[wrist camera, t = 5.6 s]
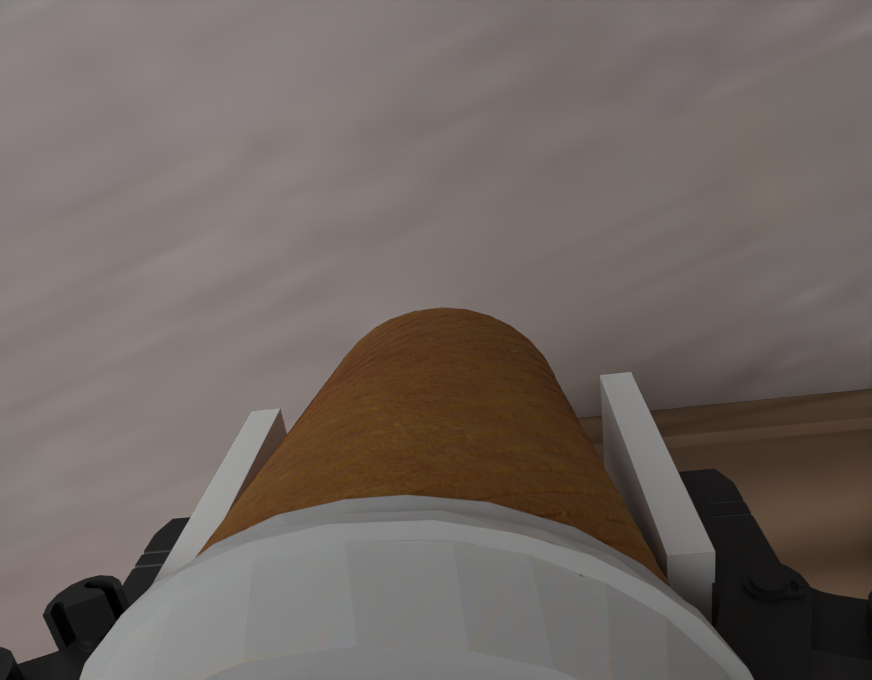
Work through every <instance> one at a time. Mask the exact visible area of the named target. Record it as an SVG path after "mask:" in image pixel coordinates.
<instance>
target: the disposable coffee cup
mask: <svg viewBox="0 0 872 680" xmlns="http://www.w3.org/2000/svg"><path fill="white" fill-rule="evenodd" d="M655 560H656V558H655V557H654V555H653V554H652V552H651V550H650V549H649V547H648V545H647V544H646V542H645V541H644V539H643V535H642V533H641V532H640V530H639V528H638V527H637V525H636V523H635V522H634V520H633V519H632V517H631V515H630V513H629V511H628V509H627V507H626V505H625V503H624V501H623V499H622V497H621V495H620V493H619V492H618V490H617V488H616V487H615V485H614V483H613V482H612V480H611V478H610V476H609V474H608V473H607V471H606V469H605V468H604V466H603V463H602V461H601V459H600V458H599V456H598V454H597V453H596V451H595V449H594V448H593V444H592V442H591V441H590V439H589V438H588V436H587V434H586V432H585V430H584V429H583V427H582V425H581V424H580V422H579V419H578V418H577V416H576V414H575V413H574V411H573V409H572V407H571V405H570V403H569V402H568V400H567V398H566V396H565V395H564V393H563V391H562V389H561V387H560V385H559V384H558V382H557V380H556V378H555V375H554V373H553V371H552V369H551V368H550V366H549V364H548V362H547V361H546V359H545V357H544V356H543V355H542V353H541V352H540V351H539V350H538V349H537V348H536V347H535V346H534V345H533V343H532V342H531V341H530V340H529V339H528V338H526V337H525V336H524V335H522V334H521V333H520V332H518V331H517V330H516V329H514V328H513V327H511V326H510V325H508V324H506V323H504V322H502V321H499V320H497V319H495V318H493V317H491V316H489V315H485V314H481V313H478V312H474V311H470V310H466V309H454V308H435V309H428V310H420V311H413V312H410V313H407V314H405V315H402V316H399V317H396V318H393V319H390V320H388V321H386V322H385V323H383V324H381V325H379V326H377V327H376V328H374V329H373V330H372V331H371V332H369V333H368V334H367V335H366V336H365V337H363V338H362V339H361V340H360V341H359V342H358V343H357V344H356V345H355V346H354V347H353V348H352V350H351V351H350V352H349V353H348V354H347V355H346V356H345V358H344V359H343V360H342V362H341V363H340V364H339V366H338V367H337V368H336V370H335V371H334V373H333V374H332V375H331V377H330V378H329V379H328V381H327V382H326V383H325V385H324V386H323V387H322V388H321V390H320V391H319V392H318V394H317V395H316V396H315V398H314V399H313V400H312V402H311V403H310V405H309V406H308V407H307V409H306V410H305V411H304V413H303V414H302V415H301V416H300V418H299V419H298V420H297V422H296V423H295V425H294V426H293V427H292V429H291V430H290V431H289V433H288V434H287V435H286V437H285V438H284V439H283V441H282V442H281V443H280V444H279V446H278V447H277V449H276V450H275V451H274V453H273V454H272V456H271V457H270V458H269V460H268V461H267V462H266V463H265V465H264V466H263V467H262V469H261V470H260V471H259V473H258V474H257V475H256V477H255V478H254V479H253V481H252V482H251V484H250V485H249V486H248V488H247V489H246V490H245V492H244V493H243V494H242V496H241V497H240V498H239V500H238V501H237V502H236V504H235V505H234V506H233V508H232V509H231V510H230V512H229V513H228V514H227V516H226V517H225V518H224V520H223V521H222V522H221V524H220V525H219V526H218V528H217V529H216V530H215V531H214V533H213V534H212V535H211V537H210V538H209V540H208V541H207V542H206V544H205V545H204V546H203V548H202V549H201V550H200V552H199V553H198V555H197V556H196V557H195V559H194V560H192V561H190V562H189V563H187V564H185V565H184V566H182V567H180V568H179V569H177V570H175V571H174V572H172V573H170V574H169V575H167V576H166V577H164V578H162V579H161V580H159V581H157V582H156V583H155V584H154V585H152V586H151V587H150V588H149V589H148V590H147V591H146V592H145V593H144V594H143V595H142V596H141V597H140V598H139V599H138V600H137V601H135V602H134V603H133V604H132V605H131V606H130V607H129V608H128V609H127V610H126V611H125V612H124V613H123V614H122V615H121V616H120V618H119V619H118V620H117V622H116V623H115V624H114V626H113V627H112V628H111V630H110V631H109V632H108V634H107V635H106V636H105V638H104V639H103V640H102V641H101V643H100V644H99V645H98V647H97V648H96V649H95V651H94V652H93V653H92V655H91V656H90V657H89V659H88V660H87V661H86V663H85V665H84V668H83V670H82V673H81V676H80V679H79V680H754V678H753V677H752V675H751V673H750V671H749V669H748V668H747V666H746V665H745V664H744V663H743V662H742V661H741V659H740V658H739V657H738V656H737V655H736V653H735V652H734V651H733V650H732V649H731V648H730V646H729V645H728V644H727V643H726V642H725V641H724V639H723V638H722V637H721V636H720V635H719V634H718V632H717V631H716V630H715V629H714V628H713V626H712V625H711V624H710V623H709V622H708V621H707V619H706V618H705V617H704V616H703V615H702V614H701V612H700V611H699V610H698V609H697V608H695V607H694V606H692V605H691V604H689V603H687V602H686V601H684V600H683V599H682V597H681V596H679V595H678V594H677V593H676V592H675V591H673V590H672V589H671V588H670V584H669V582H668V581H667V579H666V577H665V576H664V574H663V573H662V571H661V569H660V568H659V566H658V564H657V563H656V561H655Z"/></svg>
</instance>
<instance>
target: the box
mask: <svg viewBox="0 0 872 680" xmlns="http://www.w3.org/2000/svg"><path fill="white" fill-rule="evenodd" d="M649 412H650V414H651V416H652V418H653V420H654V422H655V424H656V426H657V429H658V431H659V433H660V435H661V437H662V439H663V441H664V443H665V446H666V448H667V450H668V452H669V454H670V456H671V458H672V460H673V463H674V465H675V467H676V469H677V471H678V472H682V471H693V470H704V469H716V470H718V471H719V472H720V473H722V474H723V475H724V476H726V477H727V478H729V479H730V480H731V481H733V482H734V484H735V486H736V487H737V489H738V491H739V492H740V494H741V496H742V498H743V501H744V502H745V503H746V504H747V506H748V508H749V510H750V511H751V515H753V516H754V518H755V520H756V522H757V523H758V525H759V527H760V528H761V530H762V532H763V534H764V535H765V537H766V539H767V540H768V542H769V544H770V546H771V547H772V549H773V551H774V552H775V554H776V556H777V558H778V559H779V561H780V563H781V564H784V565H786V566H788V567H790V568H791V569H793V570H795V571H796V572H798V573H800V574H801V575H802V577H803V578H804V579H805V580H806V581H807V582H808V583H809V585H810V587H812V588H814V589H817V590H819V591H822V592H826V593H831V594H835V595H841V596H847V597H854V598H860V599H867V600H868V596H869V594H870V592H871V591H872V389H867V390H857V391H847V392H837V393H827V394H817V395H807V396H797V397H787V398H777V399H767V400H757V401H747V402H737V403H727V404H717V405H707V406H697V407H687V408H677V409H667V410H657V411H649ZM578 419H579V422H580V424H581V425H582V427H583V429H584V430H585V432H586V434H587V436H588V438H589V439H590V441H591V442H592V444H593V448H594V449H595V451H596V453H597V454H598V456H599V458H600V459H601V461H602V463H603V466H604V468H605V463H604V445H603V427H602V416H597V417H587V418H578Z"/></svg>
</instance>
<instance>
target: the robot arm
mask: <svg viewBox="0 0 872 680" xmlns="http://www.w3.org/2000/svg"><path fill="white" fill-rule="evenodd" d="M600 391H601V409H602V427H603V445H604V463H605V469H606V471H607V473H608V474H609V476H610V478H611V480H612V482H613V483H614V485H615V487H616V488H617V490H618V492H619V493H620V495H621V497H622V499H623V501H624V503H625V505H626V507H627V509H628V511H629V513H630V515H631V517H632V519H633V520H634V522H635V523H636V525H637V527H638V528H639V530H640V532H641V533H642V535H643V539H644V541H645V542H646V544H647V545H648V547H649V549H650V550H651V552H652V554H653V555H654V557H655V558H656V560H655V561H656V563H657V564H658V566H659V568H660V569H661V571H662V573H663V574H664V576H665V577H666V579H667V581H668V582H669V584H670V588H671V589H672V590H673V591H675V592H676V593H677V594H678V595H679V596H681V597H682V599H683V600H684V601H686V602H687V603H689V604H691V605H692V606H694V607H695V608H697V609H698V610H699V611H700V612H701V614H702V615H703V616H704V617H705V618H706V619H707V621H708V622H709V623H710V624H711V625H712V626H713V628H714V629H715V630H716V631H717V632H718V634H719V635H720V636H721V637H722V638H723V639H724V641H725V642H726V643H727V644H728V645H729V646H730V648H731V649H732V650H733V651H734V652H735V653H736V655H737V656H738V657H739V658H740V659H741V661H742V662H743V663H744V664H745V665H746V666H747V668H748V669H749V671H750V673H751V675H752V677H753V678H754V680H872V591H871V592H870V594H869V596H868V600H867V599H860V598H854V597H847V596H841V595H835V594H831V593H826V592H822V591H819V590H817V589H814V588H812V587H810V585H809V583H808V582H807V581H806V580H805V579H804V578H803V577H802V575H801V574H800V573H798V572H796V571H795V570H793V569H791V568H790V567H788V566H786V565H784V564H781V563H780V561H779V559H778V558H777V556H776V554H775V552H774V551H773V549H772V547H771V546H770V544H769V542H768V540H767V539H766V537H765V535H764V534H763V532H762V530H761V528H760V527H759V525H758V523H757V522H756V520H755V518H754V516H753V515H751V511H750V510H749V508H748V506H747V504H746V503H745V502H744V501H743V498H742V496H741V494H740V492H739V491H738V489H737V487H736V486H735V484H734V482H733V481H731V480H730V479H729V478H727V477H726V476H724V475H723V474H722V473H720V472H719V471H718V470H716V469H704V470H693V471H682V472H678V471H677V469H676V467H675V465H674V463H673V460H672V458H671V456H670V454H669V452H668V450H667V448H666V446H665V443H664V441H663V439H662V437H661V435H660V433H659V431H658V429H657V426H656V424H655V422H654V420H653V418H652V416H651V414H650V412H649V409H648V407H647V405H646V403H645V401H644V399H643V397H642V394H641V392H640V390H639V388H638V386H637V384H636V382H635V380H634V377H633V375H632V373H631V372H626V373H616V374H607V375H600ZM286 435H287V433H286V429H285V425H284V421H283V417H282V413H281V409H280V408H279V409H270V410H260V411H252V412H251V414H250V415H249V417H248V419H247V421H246V422H245V424H244V426H243V428H242V429H241V431H240V433H239V434H238V436H237V438H236V440H235V441H234V443H233V445H232V447H231V448H230V450H229V452H228V454H227V455H226V457H225V459H224V460H223V462H222V464H221V466H220V467H219V469H218V471H217V473H216V474H215V476H214V478H213V480H212V481H211V483H210V485H209V486H208V488H207V490H206V492H205V493H204V495H203V497H202V499H201V500H200V502H199V504H198V506H197V507H196V509H195V511H194V512H193V514H192V516H191V517H188V518H177V519H172V520H171V521H170V522H169V523H167V524H166V525H165V526H164V527H163V528H162V529H160V530H159V531H158V532H157V533H156V534H155V535H154V536H153V538H152V539H151V541H150V543H149V544H148V546H147V547H146V549H145V551H144V555H141V557H140V559H139V560H138V562H137V563H136V565H135V566H136V567H135V569H133V570H132V571H131V573H130V574H129V576H128V578H127V579H126V581H125V582H124V584H123V586H122V585H121V582H120V580H118V579H117V578H115V577H113V576H104V575H99V576H95V577H90V578H86V579H84V580H81V581H79V582H77V583H75V584H72V585H70V586H69V587H68V588H66V589H65V590H63V591H62V592H60V593H59V594H57V595H56V597H55V598H54V599H53V600H52V601H51V602H50V603H49V604H48V605H47V607H46V609H45V612H44V614H43V617H44V619H45V621H46V623H47V626H48V628H49V630H50V632H51V634H52V636H53V639H54V641H55V643H56V645H57V647H58V649H59V651H57V652H54V653H51V654H48V655H45V656H42V657H39V658H36V659H32V660H29V661H26V662H23V663H20V664H17V662H16V660H15V658H14V656H13V654H12V652H11V651H10V650H8V649H5V648H3V647H0V680H79V679H80V676H81V673H82V670H83V668H84V665H85V663H86V661H87V660H88V659H89V657H90V656H91V655H92V653H93V652H94V651H95V649H96V648H97V647H98V645H99V644H100V643H101V641H102V640H103V639H104V638H105V636H106V635H107V634H108V632H109V631H110V630H111V628H112V627H113V626H114V624H115V623H116V622H117V620H118V619H119V618H120V616H121V615H122V614H123V613H124V612H125V611H126V610H127V609H128V608H129V607H130V606H131V605H132V604H133V603H134V602H135V601H137V600H138V599H139V598H140V597H141V596H142V595H143V594H144V593H145V592H146V591H147V590H148V589H149V588H150V587H151V586H152V585H154V584H155V583H156V582H157V581H159V580H161V579H162V578H164V577H166V576H167V575H169V574H170V573H172V572H174V571H175V570H177V569H179V568H180V567H182V566H184V565H185V564H187V563H189V562H190V561H192V560H194V559H195V557H196V556H197V555H198V553H199V552H200V550H201V549H202V548H203V546H204V545H205V544H206V542H207V541H208V540H209V538H210V537H211V535H212V534H213V533H214V531H215V530H216V529H217V528H218V526H219V525H220V524H221V522H222V521H223V520H224V518H225V517H226V516H227V514H228V513H229V512H230V510H231V509H232V508H233V506H234V505H235V504H236V502H237V501H238V500H239V498H240V497H241V496H242V494H243V493H244V492H245V490H246V489H247V488H248V486H249V485H250V484H251V482H252V481H253V479H254V478H255V477H256V475H257V474H258V473H259V471H260V470H261V469H262V467H263V466H264V465H265V463H266V462H267V461H268V460H269V458H270V457H271V456H272V454H273V453H274V451H275V450H276V449H277V447H278V446H279V444H280V443H281V442H282V441H283V439H284V438H285V437H286Z"/></svg>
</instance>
